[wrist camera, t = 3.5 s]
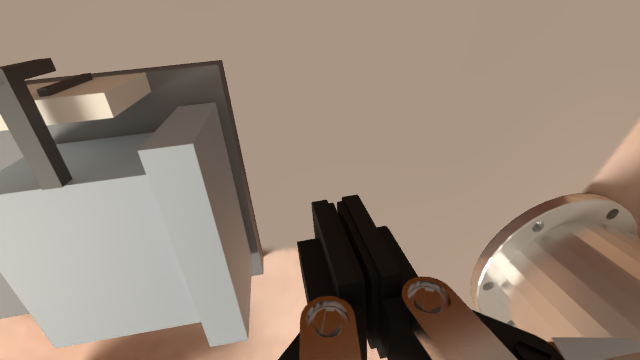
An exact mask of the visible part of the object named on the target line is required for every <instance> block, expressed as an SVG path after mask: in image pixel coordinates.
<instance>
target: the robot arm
mask: <svg viewBox="0 0 640 360" xmlns="http://www.w3.org/2000/svg"><path fill="white" fill-rule="evenodd" d="M337 212H338V213H337ZM312 213H313V222H314V232H315V239H310V240H305V241H300V242H297V245H298V252H299V259H300V266H301V272H302V278H303V283H304V289H305V294H306V299H307V305H306V306H305V308H304V310H303V311H302V313H301V318H300V333H299V334H298V335H297V336H296V338H295V339H294V340H293V342H292V343H291V344H290V345H289V347H288V348H287V349H286V350H285V352H284V353H283V354H282V355H281V357H280V358H279V359H278V360H367V340H368V343H369V346H370V348H371V349H374V348H377V351H378V354H379V356H380V359H381V358H386V357H387V358H388V360H640V238H638V229H637V224H636V221H635V219H634V217H633V215H632V214H631V212H630V211H628V210H627V209H626V208H625V207H624V206H622V205H621V204H619V203H617V202H615V201H613V200H611V199H609V198H607V197H604V196H601V195H597V194H584V193H578V194H572V195H566V196H561V197H558V198H555V199H552V200H549V201H546V202H544V203H542V204H539V205H537V206H535V207H533V208H531V209H529V210H528V211H526V212H524V213H523V214H521V215H520V216H518V217H517V218H515V219H514V220H512V221H511V222H510V223H509V224H508V225H507V226H505V227H504V228H503V229H502V230H501V231H500V232H499V233H498V234H497V235H496V236H495V237H494V238H493V239H492V240H491V241H490V243H489V244H488V245H487V247H486V248H485V250H484V251H483V253H482V254H481V255H480V257H479V259H478V262H477V264H476V266H475V268H474V271H473V274H472V279H471V296H472V299H473V303H474V304H475V306H476V307H477V308H478V310H479V312H480V313H479V312H476V311H474V310H471V309H470V308H469V307H468V306H467V305H466V304H465V303H464V302H463V301H462V299H461V298H460V297H459V296H458V295H457V294H456V293H455V292H454V291H453V290H452V289H451V288H450V287H449V286H448V285H447V284H445V283H444V282H442V281H440V280H438V279H435V278H431V277H418V276H417V274H416V272H415V271H414V269H413V268H412V266H411V264H410V263H409V261H408V259H407V258H406V256H405V254H404V253H403V251H402V250H401V248H400V246H399V245H398V243H397V242H396V240H395V238H394V237H393V235H392V234H391V232H390V230H389V229H388V228H387V227H386V226H382V227H376V226H375V224H374V222H373V221H372V219H371V217H370V215H369V214H368V212H367V210H366V208H365V206H364V205H363V203H362V201H361V199H360V198H359V196H358V195H352V196H346V197H342V201H340V202H337V210H336V208H335V205H334V203H328V201H327V200H322V201H316V202H312Z"/></svg>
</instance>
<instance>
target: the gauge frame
mask: <svg viewBox="0 0 640 360" xmlns="http://www.w3.org/2000/svg"><path fill="white" fill-rule="evenodd" d="M25 83H26V85H27V87H28V89H29V91H30V93H31V95H32V97H33V99H34V101H35V103H36V105H37V107H38V109H39V111H40V113H41V115H42V117H43V119H44V121H45V123H46V126H47V128H48V130H49V132H50V134H51V136H52V138H53V140H54V142H55V144H63V143H71V142H79V141H87V140H95V139H103V138H111V137H119V136H127V135H136V134H144V133H152V132H155V131H156V130H157V129H158V128H159V127H160V126H161V125H162V124H163V123H164V121H165V120H166V119H167V118H168V117H169V116H170V115H171V114H172V113H173V112H174V111H175V110H176V108H177V107H178V106H187V105H195V104H204V103H213V102H216V106H217V110H218V115H219V119H220V123H221V128H222V132H223V136H224V141H225V145H226V149H227V153H228V158H229V162H230V166H231V171H232V175H233V179H234V184H235V188H236V192H237V197H238V201H239V205H240V210H241V214H242V218H243V222H244V227H245V231H246V235H247V240H248V244H249V248H250V253H251V257H252V270H251V276H255V275H260V274H263V253H262V249H261V244H260V239H259V234H258V230H257V225H256V220H255V215H254V211H253V206H252V201H251V197H250V192H249V187H248V182H247V178H246V172H245V168H244V164H243V159H242V153H241V149H240V144H239V139H238V134H237V130H236V125H235V120H234V116H233V111H232V106H231V101H230V96H229V92H228V87H227V82H226V77H225V72H224V68H223V63H222V60H219V61H209V62H199V63H190V64H180V65H171V66H161V67H153V68H143V69H133V70H123V71H114V72H104V73H94V74H91V73H88V74H81V75H75V76H66V77H56V78H46V79H37V80H27V81H25ZM23 157H24V156H23V154H22V153H21V151H20V149H19V147H18V145H17V144H16V142H15V140H14V138H13V136H12V135H11V133H10V131H9V129H8V127H7V125H6V124H5V122H4V120H3V118H2V116H1V115H0V171H1V170H3V169H4V168H6V167H8V166H9V165H11V164H13V163H14V162H16V161H18V160H19V159H21V158H23ZM25 314H30V313H29V312H28V310H27V309H26V307H25V306H24V305H23V303H22V302H21V301H20V299H19V298H18V296H17V295H16V294H15V292H14V291H13V289H12V288H11V287H10V285H9V284H8V282H7V281H6V280H5V278H4V277H3V275H2V274H1V273H0V319H2V318H7V317H13V316H19V315H25Z"/></svg>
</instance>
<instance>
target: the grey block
mask: <svg viewBox="0 0 640 360" xmlns="http://www.w3.org/2000/svg"><path fill="white" fill-rule="evenodd" d="M54 71H56V69H55V67H54V65H53V62H52V60H51V58H46V59H37V60H32V61H27V62H22V63H17V64H12V65H7V66H3V67H0V115H1V116H2V118H3V120H4V122H5V124H6V125H7V127H8V129H9V131H10V133H11V135H12V136H13V138H14V140H15V142H16V144H17V145H18V147H19V149H20V151H21V153H22V154H23V156H24V157H23V158H21V159H19V160H18V161H16V162H14V163H13V164H11V165H9V166H8V167H6V168H4V169H3V170H1V171H0V273H1V274H2V275H3V277H4V278H5V280H6V281H7V282H8V284H9V285H10V287H11V288H12V289H13V291H14V292H15V294H16V295H17V296H18V298H19V299H20V301H21V302H22V303H23V305H24V306H25V307H26V309H27V310H28V312H29V313H30V314H31V316H32V317H33V319H34V320H35V321H36V323H37V324H38V326H39V327H40V328H41V330H42V331H43V333H44V334H45V335H46V337H47V338H48V339H49V341H50V342H51V344H52V345H53V346H54V348H55V349H56V348H61V347H67V346H72V345H78V344H83V343H89V342H94V341H100V340H105V339H111V338H116V337H122V336H128V335H133V334H139V333H144V332H150V331H155V330H161V329H166V328H172V327H177V326H183V325H188V324H194V323H199V322H201V324H202V326H203V329H204V332H205V335H206V337H207V340H208V343H209V345H210V347H213V346H219V345H224V344H229V343H235V342H240V341H245V340H248V334H249V312H250V291H251V270H252V257H251V253H250V248H249V244H248V240H247V235H246V231H245V227H244V222H243V218H242V214H241V210H240V205H239V201H238V197H237V192H236V188H235V184H234V179H233V175H232V171H231V166H230V162H229V158H228V153H227V149H226V145H225V141H224V136H223V132H222V128H221V123H220V119H219V115H218V110H217V106H216V102H213V103H204V104H195V105H187V106H178V107H177V108H176V110H175V111H174V112H173V113H172V114H171V115H170V116H169V117H168V118H167V119H166V120H165V121H164V123H163V124H162V125H161V126H160V127H159V128H158V129H157V130H156V131H155V132H152V133H144V134H136V135H127V136H119V137H111V138H103V139H95V140H87V141H79V142H71V143H63V144H55V142H54V140H53V138H52V136H51V134H50V132H49V130H48V128H47V126H46V123H45V121H44V119H43V117H42V115H41V113H40V111H39V109H38V107H37V105H36V103H35V101H34V99H33V97H32V95H31V93H30V91H29V89H28V87H27V85H26V83H25V81H24V80H25V79H28V78H32V77H36V76H39V75H43V74H46V73H50V72H54Z"/></svg>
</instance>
